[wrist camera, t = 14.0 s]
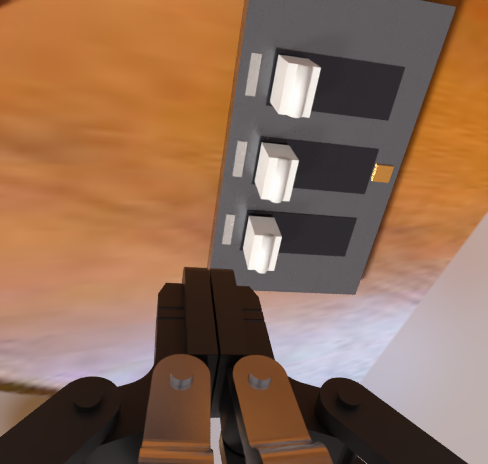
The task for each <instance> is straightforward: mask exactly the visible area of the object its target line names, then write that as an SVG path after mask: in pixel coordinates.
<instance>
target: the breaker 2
mask: <svg viewBox="0 0 488 464" xmlns="http://www.w3.org/2000/svg"><path fill="white" fill-rule="evenodd" d="M320 70H321V67H319V66H318V65H317V64H315V63H314V62H312V61H311V60H309V59H306V58H299V57H293V56H286V55H278V60H277V66H276V71H275V77H274V82H273V87H272V93H271V98H270V103H271V104H272V106H273V107H274V108H275V110H276V111H277V113H278V114H282V115H288V116H290V117H293V118H301V117H307V118H309V117H310V113H311V109H312V104H313V100H314V96H315V91H316V87H317V83H318V78H319V74H320Z"/></svg>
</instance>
